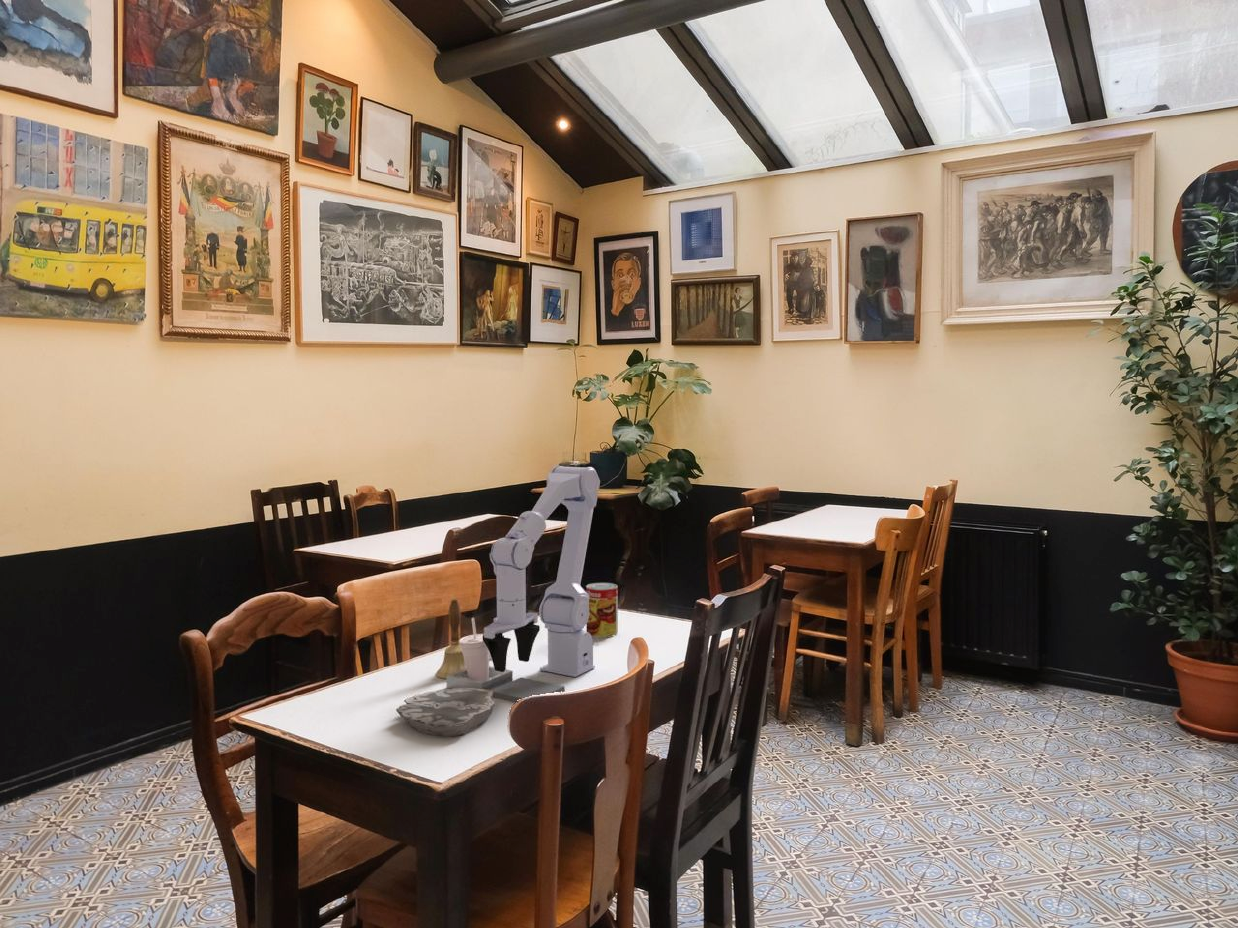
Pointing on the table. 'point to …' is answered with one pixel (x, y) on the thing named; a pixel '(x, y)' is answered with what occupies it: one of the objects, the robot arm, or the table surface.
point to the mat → (525, 689)
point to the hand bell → (453, 645)
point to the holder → (494, 681)
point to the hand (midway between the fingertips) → (512, 665)
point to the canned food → (602, 609)
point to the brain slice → (448, 710)
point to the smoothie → (475, 655)
